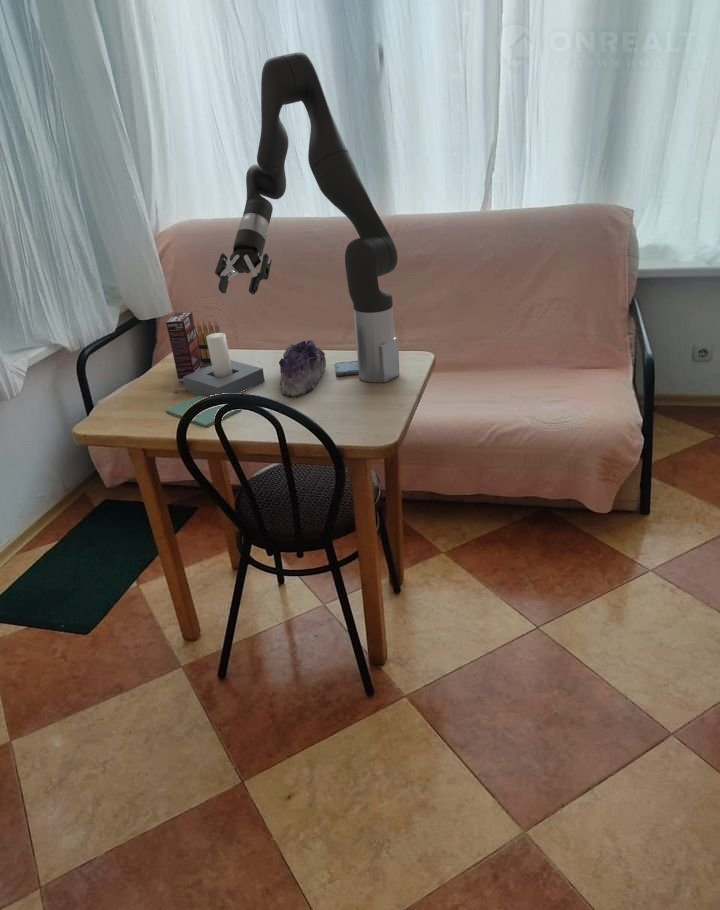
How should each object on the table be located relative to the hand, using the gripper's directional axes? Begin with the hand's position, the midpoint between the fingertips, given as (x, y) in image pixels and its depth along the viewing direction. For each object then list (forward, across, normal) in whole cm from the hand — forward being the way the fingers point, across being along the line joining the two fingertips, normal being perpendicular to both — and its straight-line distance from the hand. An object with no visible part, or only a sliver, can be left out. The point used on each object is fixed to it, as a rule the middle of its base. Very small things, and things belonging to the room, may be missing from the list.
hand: (236, 292), depth 159 cm
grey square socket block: (+23, 0, +5) cm, 24 cm away
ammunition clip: (+13, -14, +16) cm, 25 cm away
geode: (+19, +19, +9) cm, 29 cm away
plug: (+23, 0, +5) cm, 24 cm away
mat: (+34, +3, -5) cm, 34 cm away
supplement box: (+20, -13, +9) cm, 25 cm away
